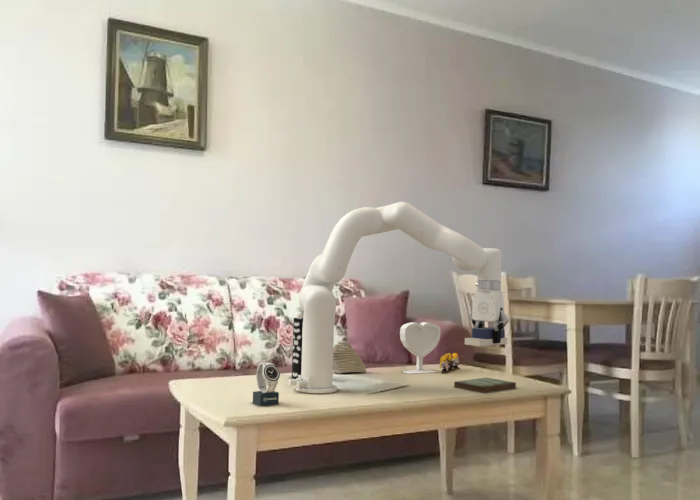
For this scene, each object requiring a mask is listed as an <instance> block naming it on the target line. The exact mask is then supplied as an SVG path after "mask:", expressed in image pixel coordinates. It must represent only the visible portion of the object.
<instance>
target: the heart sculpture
mask: <svg viewBox="0 0 700 500" xmlns="http://www.w3.org/2000/svg"><path fill="white" fill-rule="evenodd" d="M399 328H400V329H399V338H400V342H401V344H402V345H403V347H404V348H405V349H406V350H407V351H408V352H409V353H410V354H412V355H414V356H415V357H416V364H415V365H416V369H410V370H403V371H402V373H403V374H409V375H410V374H411V375H412V374H427V373H428V374H429V373H437V371H436V370H431V369H426V368H424V359H425V357H426V356H427V355H429V354H430V353H431V352H433V350H434V349H435V348H437V346H438V344H439V342H440V340H441V333H442V332H441V327H440V326H439V325H438V324H436V323H433V322H426V321H425V322H424V321H421V322H420V323H419V322H413V321H412V322H411V321H410V322H407V323H404V324H403V325H401V327H399Z"/></svg>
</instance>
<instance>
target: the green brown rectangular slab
mask: <svg viewBox="0 0 700 500" xmlns="http://www.w3.org/2000/svg"><path fill="white" fill-rule="evenodd" d="M454 388H455V389H461V390H468V391H471V392H476V393H481V394H487V393H494V392H500V391H506V390H513V389H514V390H515V389H516V388H517V382H516V381H515V382H514V381H510V380H509V381H508V380H503V379H498V378H491V377H479V378H472V379H464V380H457V381H454Z"/></svg>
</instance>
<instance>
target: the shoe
mask: <svg viewBox="0 0 700 500" xmlns="http://www.w3.org/2000/svg"><path fill="white" fill-rule="evenodd" d="M493 331H495V329H494V327H491V326H490V327H488V326H487V327H486V326H485V327H482V328H474V327H472V328H471V337H464V345H467V346H473V347H488V346H498V345H507V344H508V337H505V328H503V330H502V331H501V342H500V343H493Z"/></svg>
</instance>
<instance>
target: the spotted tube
mask: <svg viewBox="0 0 700 500" xmlns="http://www.w3.org/2000/svg"><path fill="white" fill-rule="evenodd" d="M292 324H293V325H292V327H293V328H292V353H291V355H292V356H291V379H296V378H298V375H301V366H302V329H303V317H293V323H292Z"/></svg>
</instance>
